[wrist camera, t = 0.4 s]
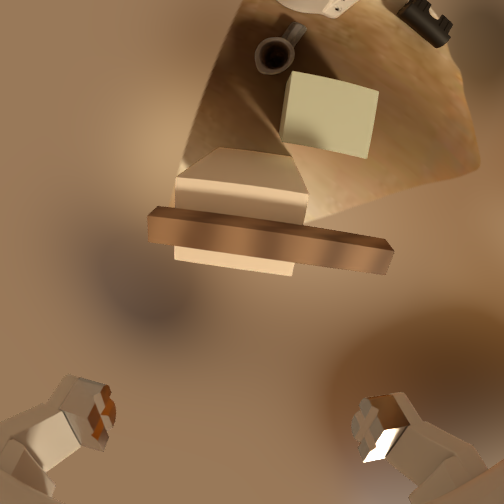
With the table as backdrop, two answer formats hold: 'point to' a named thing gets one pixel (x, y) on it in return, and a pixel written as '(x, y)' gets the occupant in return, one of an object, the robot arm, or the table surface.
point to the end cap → (426, 22)
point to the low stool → (328, 114)
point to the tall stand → (242, 199)
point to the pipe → (278, 50)
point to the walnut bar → (268, 240)
